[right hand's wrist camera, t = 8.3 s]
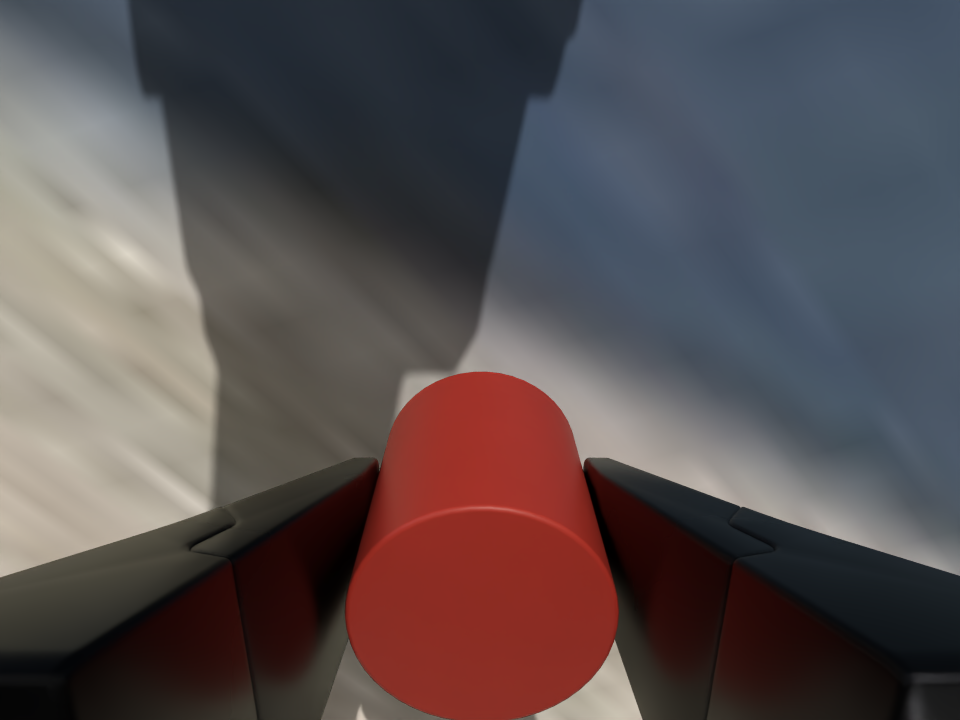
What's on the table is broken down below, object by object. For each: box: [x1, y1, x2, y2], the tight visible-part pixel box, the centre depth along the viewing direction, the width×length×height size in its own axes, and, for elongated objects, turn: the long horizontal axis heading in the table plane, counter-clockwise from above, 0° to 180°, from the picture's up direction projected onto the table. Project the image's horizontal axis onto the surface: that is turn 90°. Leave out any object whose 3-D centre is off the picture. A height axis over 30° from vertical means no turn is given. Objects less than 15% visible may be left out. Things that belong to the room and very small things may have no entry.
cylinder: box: [345, 372, 619, 720], centre depth 10 cm, size 4×4×4 cm
